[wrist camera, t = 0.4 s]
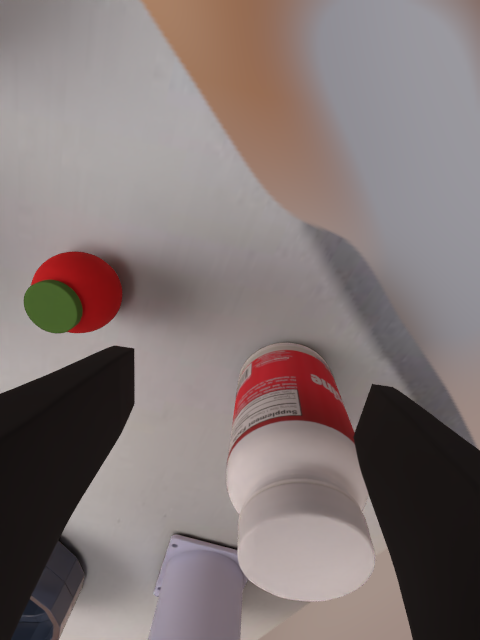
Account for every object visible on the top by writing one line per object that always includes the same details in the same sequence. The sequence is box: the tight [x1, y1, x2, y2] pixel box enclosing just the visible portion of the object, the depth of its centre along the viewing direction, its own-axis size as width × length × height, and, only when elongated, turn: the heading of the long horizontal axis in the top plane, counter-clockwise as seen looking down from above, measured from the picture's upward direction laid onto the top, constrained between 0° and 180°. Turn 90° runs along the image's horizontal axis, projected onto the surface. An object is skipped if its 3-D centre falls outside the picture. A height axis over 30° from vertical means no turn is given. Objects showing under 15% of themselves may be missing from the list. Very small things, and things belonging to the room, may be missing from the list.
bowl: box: [11, 541, 85, 640], centre depth 29 cm, size 12×12×4 cm
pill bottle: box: [226, 343, 375, 602], centre depth 16 cm, size 6×6×11 cm
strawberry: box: [24, 252, 122, 333], centre depth 17 cm, size 4×4×5 cm
